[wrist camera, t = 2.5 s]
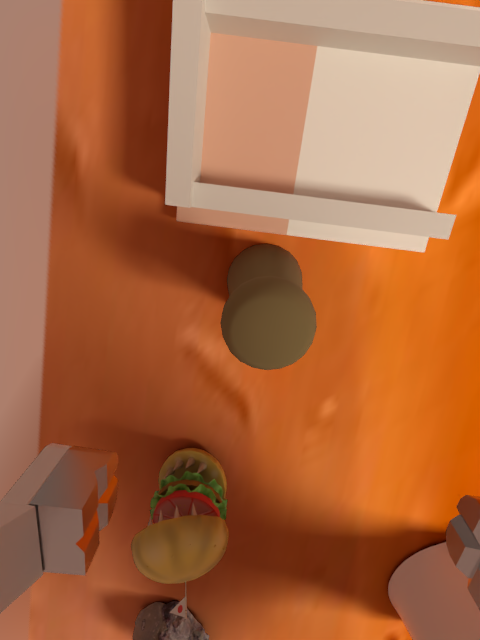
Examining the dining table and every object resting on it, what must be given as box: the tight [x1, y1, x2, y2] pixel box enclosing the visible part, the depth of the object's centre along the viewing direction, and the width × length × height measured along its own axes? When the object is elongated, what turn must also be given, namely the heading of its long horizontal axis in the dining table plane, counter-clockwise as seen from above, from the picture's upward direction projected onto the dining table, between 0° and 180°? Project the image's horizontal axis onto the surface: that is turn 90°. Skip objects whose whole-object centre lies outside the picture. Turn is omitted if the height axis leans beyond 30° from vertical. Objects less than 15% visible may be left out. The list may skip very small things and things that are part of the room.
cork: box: [221, 244, 316, 370], centre depth 22 cm, size 6×6×11 cm
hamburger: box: [131, 448, 229, 619], centre depth 29 cm, size 8×7×12 cm
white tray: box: [165, 0, 480, 252], centre depth 21 cm, size 18×14×5 cm
